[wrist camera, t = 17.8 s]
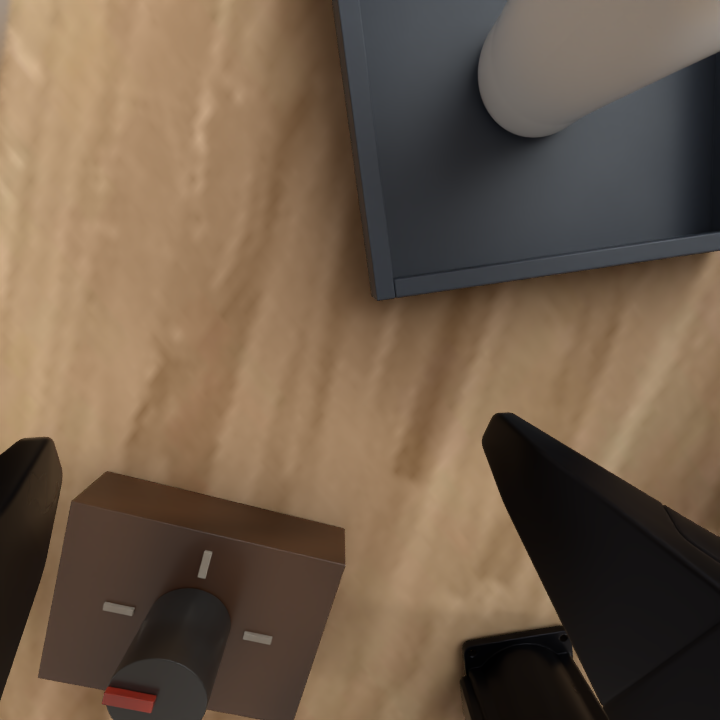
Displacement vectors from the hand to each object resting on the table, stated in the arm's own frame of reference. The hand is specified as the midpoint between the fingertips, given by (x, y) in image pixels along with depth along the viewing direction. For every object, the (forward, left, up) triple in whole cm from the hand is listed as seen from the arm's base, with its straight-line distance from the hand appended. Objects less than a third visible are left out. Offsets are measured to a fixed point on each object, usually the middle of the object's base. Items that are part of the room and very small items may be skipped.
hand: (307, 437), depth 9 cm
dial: (+9, +12, -10) cm, 18 cm away
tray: (-11, -10, -13) cm, 20 cm away
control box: (+9, +12, -13) cm, 20 cm away
